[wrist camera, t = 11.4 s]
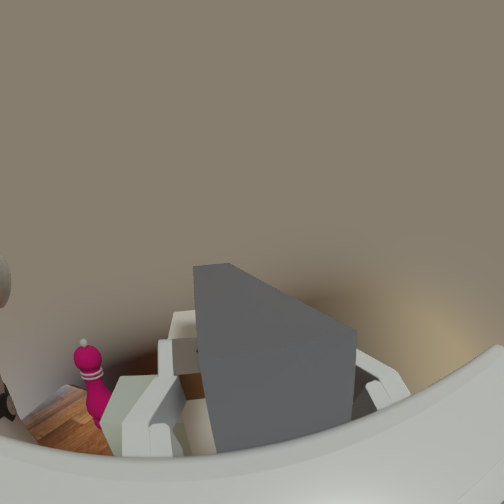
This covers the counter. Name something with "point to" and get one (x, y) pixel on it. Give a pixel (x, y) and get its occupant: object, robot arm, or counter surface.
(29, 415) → the counter surface
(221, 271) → the gray rectangular bar
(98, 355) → the pepper mill
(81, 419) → the counter surface
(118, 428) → the step stand
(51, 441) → the counter surface
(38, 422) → the counter surface
